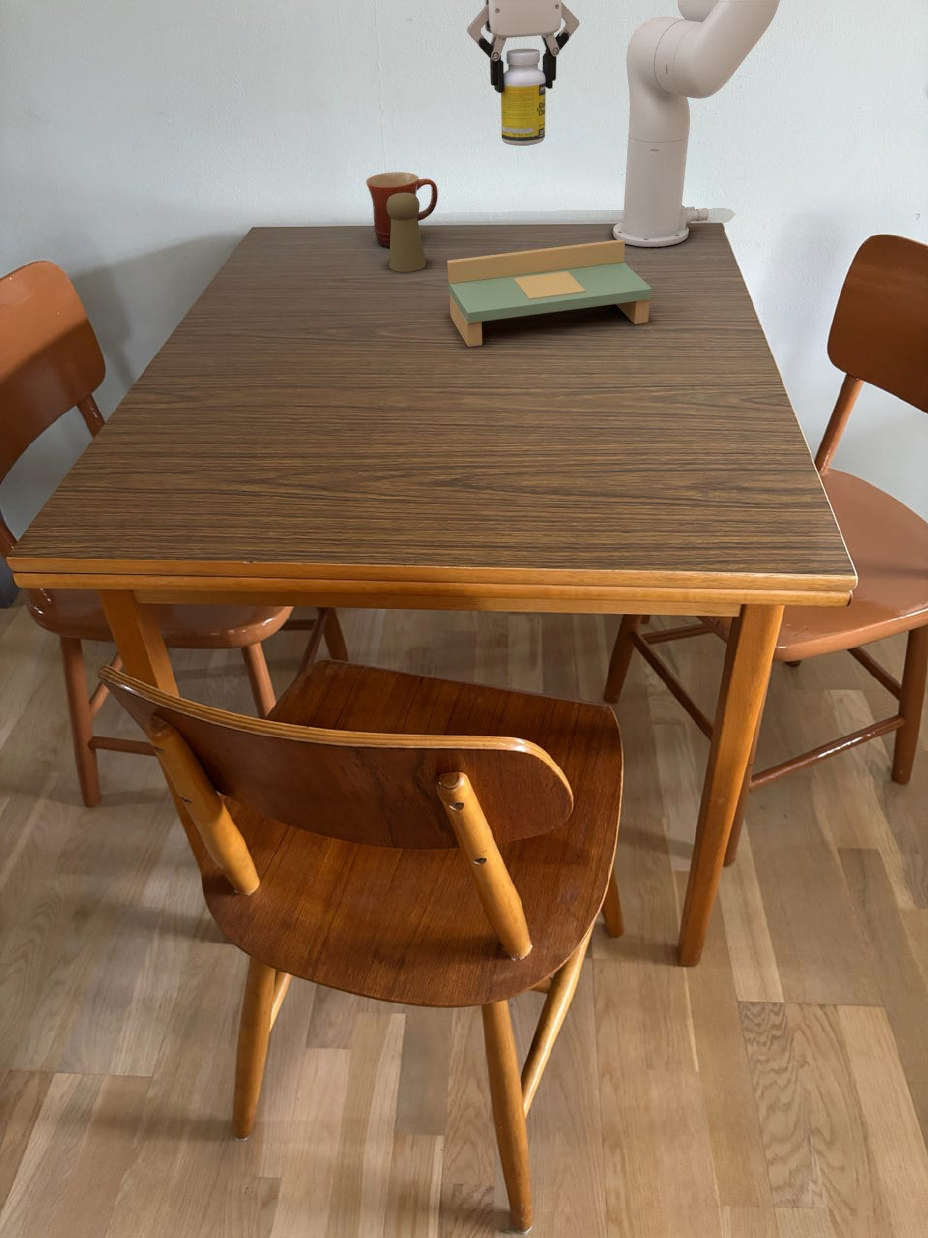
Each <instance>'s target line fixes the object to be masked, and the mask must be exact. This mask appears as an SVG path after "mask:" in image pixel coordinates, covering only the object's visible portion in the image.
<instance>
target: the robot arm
mask: <svg viewBox="0 0 928 1238" xmlns="http://www.w3.org/2000/svg"><path fill="white" fill-rule="evenodd" d="M562 1H563V0H484V7H483V8H481V10H480V12H479V13H478V14H477V15H476V17H475V18H474V19H473V20H472V21H471V23H470V24H469V25H468V26H467V28H466V33H467V35H469V37H470V38H471V39H472V41H474V42H475V43H476V44H477V46H478V47H479V49H481V51H482V52H484V54H485V55H486V56H487V57H488V58H489V73H490V77H489V78H490V85H491V86H492V87H493V88H494V90H495V91H496V93H498V94H501V93H502V92H504V73H505V70H504V69H505V67H504V65H505V64H504V60H502V52H503V49H504V47H505V44H506V41H507V39H511V38H512V39H513V38H526V37H537V36H540V37H541V40H542V42H543V46H544V48H545V50H544V53H543V55H542V70H541V71H542V72H543V73H544V74H545V77H546V89H548V90H553V86H554V85H553V84H554V81H556V80H557V57H558V56H559V55H560V52H561V51H562V49H563V48H564V47H565V45H566V44H567V43H568V42H569V40H570V38H571V36H573V34H574V33H575V32H576V31H577V29H578V28H579V26H580V20H579V19H578V18H577V17H576V16H575V15H574V13H573V12H572V11H571V10H570V9H569V8H568V7H567V6H566V5H565V4H564V2H562ZM780 2H781V0H677V8H678V11H679V13H680V15H681V16H682V18H680V17H679V18H678V17H674V16H673V17H671V16H656V17H652V18H650V19H648V20H646V21H644V22H643V23H641V24H640V25H639V26H638V27H637V28H636V29H635V31H634V32H633V34H632V36H631V38H630V39H629V43H628V46H627V50H626V51H627V52H626V74H627V75H626V77H627V83H628V92H629V93H628V94H629V95H628V96H629V116H628V117H629V118H628V119H629V120H628V135H627V148H626V149H627V150H626V164H625V165H626V166H625V167H626V168H625V182H624V183H625V184H624V198H623V199H624V200H623V216H622V221H620V222H618V223H616V224H615V225H614V226H613V228H612V235H613V238H614V239H615V240H620V239H623V240H624V241H625V245H629V246H636V247H642V248H659V247H667V246H672V245H673V246H674V245H677V244H680V243H682V242H683V241H685V240H686V239H687V238H688V237H689V231H690V229H689V226H687V225H690V224H691V222H703V221H707V220H709V215H710V214H709V209H708V208H707V207H704V208H695V206H693V205H692V206H684V205H683V196H684V187H685V179H686V168H687V167H686V166H687V158H688V146H689V138H690V137H689V136H690V125H691V113H690V105H689V99H688V98H690V99H698V100H699V99H701V100H702V99H706V98H707V99H708V98H709V97H712V96H713V95H715V94H716V93H718V92H719V91H720V90H722V88H724V86H725V85H726V84H727V83H728V82H729V80H731V78H732V77H733V75H734V74H735V73H736V71H737V70H738V69H739V67H740V66H741V65H742V63H743V62H744V61H745V60H746V58H747V57H748V55H749V54H750V53H751V52H752V50H753V49H754V48H755V46H756V44H757V43H758V42H759V40H760V39H761V38H762V36H763V35H764V34H765V32H766V31H767V30H768V28H769V27H770V25H771V23H772V22H773V20H774V17H775V15H776V13H777V11H778V7H779V5H780ZM562 20H563V21H564V23H565V24H564V26H563V28H562V30H560V29H561V26H562ZM483 27H484V28H485V30H486V32H488V33H489V34H491V35H492V37H491V41H489V40H487V38H486V37H485V36H484V35H483V34H482V28H483ZM559 30H560V31H559ZM558 31H559V32H558ZM557 32H558V34H556V33H557ZM555 34H556V36H555Z"/></svg>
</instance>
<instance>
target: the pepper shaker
mask: <svg viewBox="0 0 928 1238" xmlns="http://www.w3.org/2000/svg"><path fill="white" fill-rule="evenodd" d="M386 206H387V212H388V214H389V215H390V217H391V236H390V248H389V265H388V267H389V269H390V270H392V271H394V272H400V273H410V272H417V271H420V270H422V269H424V268H425V267H426V266H427V261H426V260H427V259H426V256H425V251H424V250H425V249H424V245H423V240H422V235H421V231H420V225H419V221H418V220H417V215H418V213H419V212H420V207H421V206H420V201H419V198H418V197H417V194H416V195H414V194H412V193H397V194H393V195H392V196H390V197H389V198H388V201H387V205H386Z"/></svg>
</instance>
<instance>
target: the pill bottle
mask: <svg viewBox="0 0 928 1238" xmlns="http://www.w3.org/2000/svg"><path fill="white" fill-rule="evenodd" d="M505 58H506V59H505V60H506V64H507V66H508V68H507V70H506V71H504V92H502V93H500V118H501V120H500V121H501V122H500V124H501V125H500V126H501V127H500V128H501V129H500V131H501V132H500V133H501V134H500V135H501V141H502V142H503V143H504V144H507V145H511V146H519V147H522V146H523V147H526V146H535V145H538V144H540V143H542V142H543V141H544V140H545V138H546V95H547V94H546V93H547V92H546V91H547V90H546V89H547V88H546V77H545V74H544V73H543V72H542V70H541V69H539V63H540V60H541V51H540V50H539V49H536V48H514V49H510V50H509V49H508V50H507V51H506V57H505Z"/></svg>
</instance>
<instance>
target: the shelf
mask: <svg viewBox="0 0 928 1238" xmlns="http://www.w3.org/2000/svg"><path fill="white" fill-rule="evenodd" d="M625 251H626V244H625V241H624V240H623V239H620V240H617V239H614V240H605V241H597V242H588V243H579V244H572V245H563V246H558V247H557V246H556V247H549V248H538V249H531V250H523V251H514V252H507V253H498V254H490V255H489V254H488V255H482V256H474V257H466V258H457V259H450V260H449V259H448V260H447V261H446V263H447V282H448V284H447V285H448V293H449V309H450V318H451V320H452V321H453V323H454V325H455V328H457V330H458V332H459V334H460V335H461V337H462V339H463V340H464V342H465V344H466V346H467V347H468V348H470V347H478V346H483V327H482V326H483V324H482V323H483V322H488V321H489V322H490V321H497V320H504V319H511V318H519V317H526V316H535V315H541V314H551V313H558V312H565V311H572V310H573V311H574V310H579V309H587V308H595V307H602V306H609V305H616V306H617V308H619V309H620V311H621V312H622V313H623V314H624V315H625V316H626V317H627V318H628V319H629V320H630V321H631V322H632V323H633V324H634V325H640V324H646V323H649V316H650V315H649V314H650V303H651V300H652V298H653V297H652V296H653V288H652V287H651V286H650V285H649V284H648V283H647V282H646V281H645V280H644V279H642V277H641V276H639V275H638V274H637V273H636V272H635V271H634V270H633V269H632V268H630V266H628V264H627V263H625Z"/></svg>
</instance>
